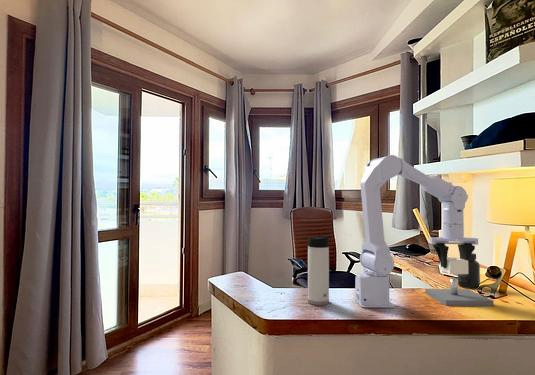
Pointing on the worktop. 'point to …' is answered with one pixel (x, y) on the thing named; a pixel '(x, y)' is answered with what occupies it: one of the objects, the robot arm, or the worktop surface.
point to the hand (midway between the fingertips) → (453, 267)
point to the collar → (456, 266)
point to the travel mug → (318, 270)
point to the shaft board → (458, 296)
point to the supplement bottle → (470, 274)
